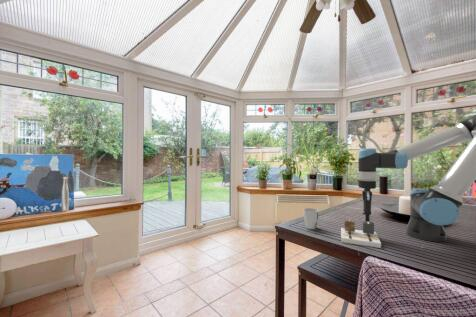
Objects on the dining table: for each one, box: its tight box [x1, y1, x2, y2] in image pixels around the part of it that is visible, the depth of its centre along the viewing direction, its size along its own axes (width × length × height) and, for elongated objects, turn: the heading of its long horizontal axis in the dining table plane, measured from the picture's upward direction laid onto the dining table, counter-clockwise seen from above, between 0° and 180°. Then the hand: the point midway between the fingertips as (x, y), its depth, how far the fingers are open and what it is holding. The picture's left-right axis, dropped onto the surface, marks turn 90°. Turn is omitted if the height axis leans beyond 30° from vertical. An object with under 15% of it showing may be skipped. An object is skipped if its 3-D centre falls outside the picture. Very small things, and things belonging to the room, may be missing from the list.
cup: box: [302, 207, 319, 230], centre depth 119 cm, size 8×8×10 cm
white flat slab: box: [340, 227, 382, 249], centre depth 103 cm, size 16×15×2 cm
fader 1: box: [344, 219, 356, 232], centre depth 106 cm, size 4×3×5 cm
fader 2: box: [362, 220, 375, 234], centre depth 103 cm, size 4×3×5 cm
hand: (366, 227), depth 106 cm, fingers closed
